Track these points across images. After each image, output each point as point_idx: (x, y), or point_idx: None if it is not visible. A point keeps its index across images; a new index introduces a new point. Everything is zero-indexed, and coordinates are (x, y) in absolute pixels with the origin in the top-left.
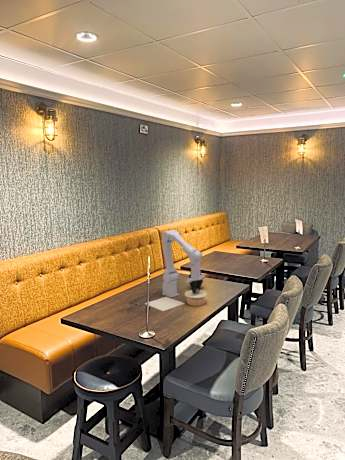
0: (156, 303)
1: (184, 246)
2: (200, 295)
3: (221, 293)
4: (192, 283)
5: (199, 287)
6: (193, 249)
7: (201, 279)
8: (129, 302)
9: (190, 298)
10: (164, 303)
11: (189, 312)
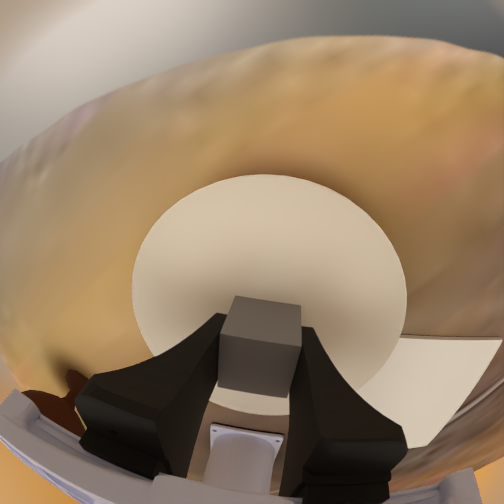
0: (412, 426)
1: None
2: (292, 237)
3: (23, 237)
4: (386, 463)
5: (210, 345)
6: None
7: (37, 396)
8: (417, 469)
9: None
10: (400, 409)
11: (472, 196)
